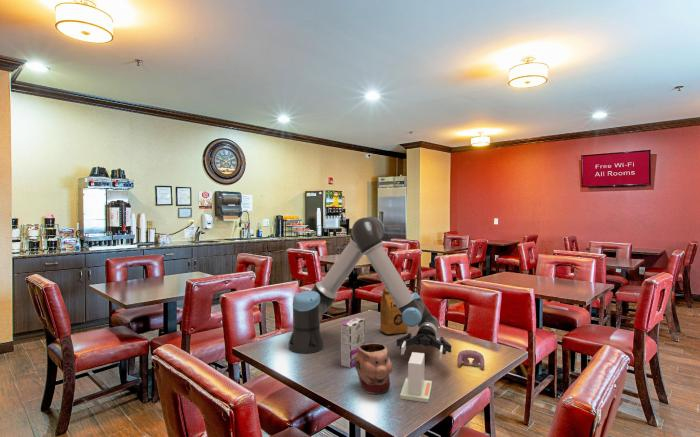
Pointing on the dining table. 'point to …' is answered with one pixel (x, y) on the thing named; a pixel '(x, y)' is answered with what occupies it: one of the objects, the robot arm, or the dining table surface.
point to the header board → (422, 398)
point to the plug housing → (416, 373)
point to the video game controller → (470, 354)
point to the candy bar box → (351, 340)
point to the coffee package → (391, 316)
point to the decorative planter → (373, 367)
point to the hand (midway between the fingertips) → (421, 353)
